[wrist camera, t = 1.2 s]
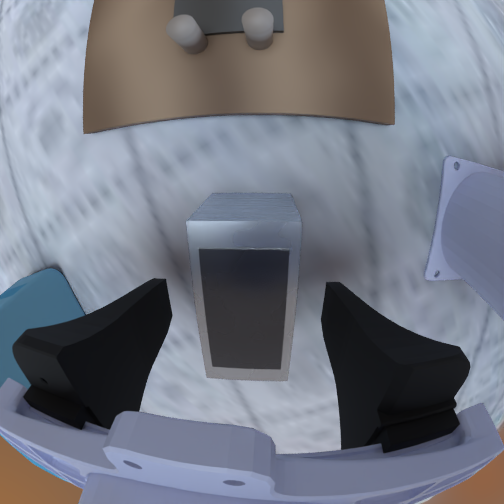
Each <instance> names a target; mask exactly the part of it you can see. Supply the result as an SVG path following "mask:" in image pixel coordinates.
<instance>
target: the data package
mask: <svg viewBox="0 0 504 504" xmlns="http://www.w3.org/2000/svg"><path fill="white" fill-rule="evenodd" d="M84 315H85V314H84V312H83V310H82V308H81V307H80V305H79V303H78V301H77V299H76V298H75V296H74V294H73V292H72V290H71V288H70V286H69V284H68V282H67V280H66V279H65V277H64V276H63V275H62V274H61V273H60V272H59V271H57V270H55V269H52V268H49V269H45V270H42V271H40V272H37V273H35V274H32V275H30V276H27V277H24V278H22V279H20V280H18V281H17V282H16V283H15V284H13V285H12V286H11V287H10V288H9V289H7V290H6V291H5V292H4V293H3V294H1V295H0V388H1V386H2V385H3V384H4V382H5V381H6V380H7V378H11V379H13V380H14V381H16V382H18V383H20V384H22V385H23V386H25V387H26V388H27V389H29V387H30V386H31V384H30V383H29V381H28V380H27V378H26V377H25V375H24V373H23V372H22V370H21V369H20V367H19V365H18V364H17V362H16V360H15V358H14V355H13V352H12V346H13V344H14V342H15V341H16V340H17V339H18V338H19V337H20V336H21V335H22V334H23V332H24V331H25V330H27V329H31V328H38V327H45V326H51V325H55V324H59V323H63V322H67V321H70V320H73V319H76V318H79V317H81V316H84ZM0 435H1V434H0ZM1 436H2V435H1ZM2 437H3V436H2ZM3 438H4V437H3ZM4 439H5V438H4ZM5 440H6V441H7V442H8V443H10V442H9V441H8V440H7V439H5ZM10 444H11V443H10ZM11 445H12V444H11ZM12 446H13V445H12ZM13 447H14V446H13ZM14 448H15V447H14ZM15 449H16V448H15ZM16 450H17V451H19V450H18V449H16ZM19 452H20V453H21V454H22V455H23V456H25V457H26V458H27V459H28V460H30V461H31V462H32V463H33V464H35V465H36V466H38V467H40V468H42V469H43V470H45V471H47V472H49V473H51V474H53V475H55V476H56V477H58V478H60V479H62V480H64V481H67V480H65V479H63V478H61V477H60V476H58V475H56V474H55V473H53V472H51V471H50V470H48V469H46V468H45V467H43V466H42V465H40V464H38V463H37V462H35V461H34V460H32V459H31V458H29V457H28V456H26V455H25V454H23V453H22V452H21V451H19ZM67 482H69V481H67Z"/></svg>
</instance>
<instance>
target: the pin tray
mask: <svg viewBox="0 0 504 504" xmlns="http://www.w3.org/2000/svg"><path fill="white" fill-rule="evenodd" d="M226 115H295V116H313V117H326V118H337V119H346V120H355V121H362V122H369V123H376V124H382V125H395V102H394V75H393V61H392V50H391V41H390V33H389V25H388V19H387V12H386V7H385V1H384V0H94V4H93V9H92V14H91V20H90V26H89V32H88V40H87V48H86V58H85V70H84V89H83V132H84V134H90V133H97V132H101V131H106V130H111V129H116V128H121V127H126V126H132V125H138V124H144V123H151V122H158V121H166V120H175V119H184V118H195V117H208V116H226Z"/></svg>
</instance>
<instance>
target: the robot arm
mask: <svg viewBox="0 0 504 504" xmlns="http://www.w3.org/2000/svg"><path fill="white" fill-rule="evenodd" d="M455 162H457V163H458V168H457V169H456V170H455V168H454V163H455ZM438 270H439V273H438V274H437V275H436V276H434V273H435V272H436V271H438ZM424 277H425V279H426V280H428V281H434V280H459V279H464V280H465V281H466V282H467V283H468V284H469V285H470V286H471V287H472V288H473V289H474V290H475V291H476V292H477V293H478V294H479V295H480V296H481V297H482V298H483V299H484V300H485V301H486V302H487V303H488V304H489V305H490V306H491V307H492V308H493V309H494V311H495V312H496V313H497V314H498V315H499V316H500V317H501V318H502V319H503V320H504V171H501V170H498V169H495V168H492V167H489V166H485V165H482V164H479V163H475V162H472V161H468V160H464V159H460V158H456V157H452V156H447V157H445V159H444V161H443V169H442V179H441V188H440V196H439V203H438V210H437V216H436V222H435V227H434V232H433V237H432V242H431V247H430V251H429V255H428V260H427V264H426V268H425V271H424ZM171 319H172V310H171V305H170V300H169V294H168V288H167V283H166V279H156V278H154V279H152V280H149V281H148V282H146V283H144V284H142V285H141V286H139V287H137V288H136V289H134V290H132V291H131V292H129V293H128V294H126V295H124V296H123V297H121V298H119V299H117V300H115V301H114V302H112V303H110V304H108V305H107V306H105V307H103V308H101V309H98V310H96V311H94V312H92V313H89V314H87V315H84V316H81V317H79V318H76V319H73V320H70V321H67V322H63V323H59V324H55V325H51V326H45V327H38V328H31V329H27V330H25V331H24V332H23V334H22V335H21V336H20V337H19V338H18V339H17V340H16V341H15V342H14V344H13V346H12V352H13V355H14V358H15V360H16V362H17V364H18V365H19V367H20V369H21V370H22V372H23V373H24V375H25V377H26V378H27V380H28V381H29V383H30V384H31V386H30V387H29V389H27V388H26V387H25V386H23V385H22V384H20V383H18V382H16V381H14V380H13V379H11V378H7V380H6V381H5V382H4V384H3V385H2V386H1V388H0V434H1V435H2V436H3V437H4V438H5V439H7V440H8V441H9V442H10V443H11V444H12V445H13V446H14V447H15V448H16V449H18V450H19V451H21V452H22V453H23V454H25V455H26V456H28V457H29V458H31V459H32V460H34V461H35V462H37V463H38V464H40V465H42V466H43V467H45V468H46V469H48V470H50V471H51V472H53V473H55V474H56V475H58V476H60V477H61V478H63V479H65V480H67V481H69V482H70V483H72V484H74V485H76V486H78V487H80V488H82V489H83V492H82V495H81V498H80V500H79V503H78V504H414V503H417V502H419V501H422V500H424V499H427V498H429V497H431V496H434V495H436V494H438V493H440V492H442V491H444V490H447V489H449V488H451V487H453V486H455V485H457V484H459V483H461V482H463V481H465V480H467V479H468V478H470V477H471V476H473V475H474V474H475V473H476V472H478V471H479V470H480V469H482V468H483V467H484V466H485V465H487V464H488V463H489V462H490V461H492V460H493V459H494V458H495V457H496V456H497V455H499V454H500V453H501V452H502V451H503V450H504V445H503V443H502V441H501V438H500V436H499V434H498V432H497V430H496V428H495V425H494V423H493V421H492V419H491V417H490V415H489V414H488V412H487V410H486V408H485V406H484V404H483V403H479V404H477V405H474V406H472V407H469V408H467V409H464V410H462V411H461V412H459V413H458V414H457V415H456V413H455V411H454V408H455V407H456V404H457V403H456V401H455V399H454V396H455V395H456V394H457V392H458V391H459V389H460V388H461V386H462V385H463V383H464V382H465V380H466V378H467V376H468V374H469V370H470V362H469V361H468V359H467V357H466V356H465V354H464V353H463V351H462V350H461V348H460V347H458V346H454V345H450V344H446V343H442V342H438V341H435V340H432V339H429V338H426V337H423V336H421V335H418V334H416V333H414V332H412V331H409V330H407V329H405V328H403V327H401V326H399V325H397V324H396V323H394V322H392V321H391V320H389V319H387V318H386V317H384V316H383V315H381V314H380V313H378V312H377V311H375V310H374V309H373V308H371V307H370V306H369V305H367V304H366V303H365V302H364V301H362V300H361V299H360V298H359V297H357V296H356V295H355V294H354V293H353V292H351V291H350V290H349V289H348V288H347V287H345V286H344V285H343V284H342V283H340V282H326V290H325V297H324V303H323V310H322V316H321V324H322V331H323V338H324V341H325V345H326V349H327V352H328V356H329V359H330V363H331V366H332V370H333V374H334V378H335V382H336V389H337V396H338V405H339V415H340V429H341V450H336V451H327V452H316V453H300V454H275V444H274V442H273V440H272V438H271V437H270V436H268V435H267V434H264V433H262V432H260V431H258V430H256V429H254V428H249V427H243V426H237V425H230V424H218V423H207V422H199V421H191V420H184V419H177V418H171V417H165V416H160V415H154V414H149V413H145V412H139V410H140V405H141V401H142V397H143V393H144V390H145V386H146V383H147V379H148V376H149V373H150V371H151V368H152V366H153V364H154V361H155V359H156V357H157V355H158V353H159V350H160V348H161V346H162V344H163V342H164V339H165V337H166V335H167V333H168V329H169V326H170V323H171Z"/></svg>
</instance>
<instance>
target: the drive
mask: <svg viewBox="0 0 504 504" xmlns="http://www.w3.org/2000/svg"><path fill="white" fill-rule="evenodd" d="M186 226H187V237H188V248H189V257H190V267H191V275H192V284H193V292H194V299H195V307H196V314H197V321H198V328H199V334H200V341H201V347H202V353H203V359H204V365H205V370H206V376H207V378H217V379H231V380H251V381H288V373H289V365H290V357H291V349H292V340H293V331H294V321H295V311H296V301H297V290H298V278H299V265H300V251H301V236H302V220H301V218H300V215H299V213H298V210H297V208H296V205H295V203H294V200H293V198H292V195H291V194H286V193H212V194H211V195H210V196H209V197H208V198H207V199H206V200H205V201H204V203H203V204H202V205H201V206H200V207H199V208H198V209H197V210H196V211H195V212H194V213H193V214H192V215H191V216H190V217H189V218H188V220H187V221H186Z"/></svg>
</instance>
